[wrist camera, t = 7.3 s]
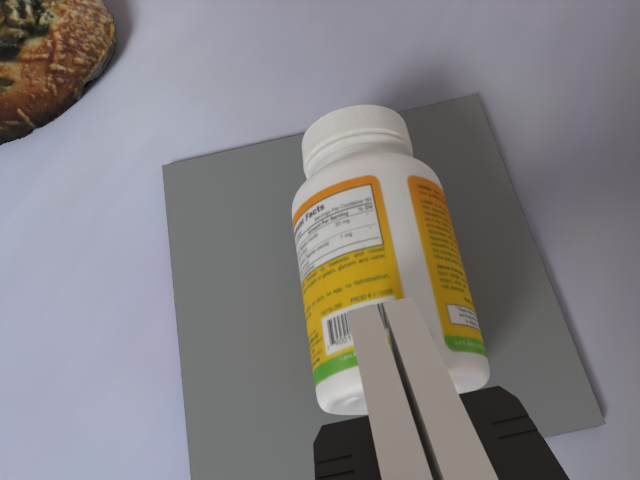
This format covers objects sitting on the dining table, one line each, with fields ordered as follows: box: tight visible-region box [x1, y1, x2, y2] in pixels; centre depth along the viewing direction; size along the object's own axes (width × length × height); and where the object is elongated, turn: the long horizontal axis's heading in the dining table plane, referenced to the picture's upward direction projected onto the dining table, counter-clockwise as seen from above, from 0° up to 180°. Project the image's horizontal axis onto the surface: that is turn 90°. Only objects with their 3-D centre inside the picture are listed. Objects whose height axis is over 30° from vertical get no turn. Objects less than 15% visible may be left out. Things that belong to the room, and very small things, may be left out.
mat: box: [162, 95, 605, 480], centre depth 23 cm, size 14×14×1 cm
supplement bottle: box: [292, 104, 490, 415], centre depth 20 cm, size 5×5×10 cm
